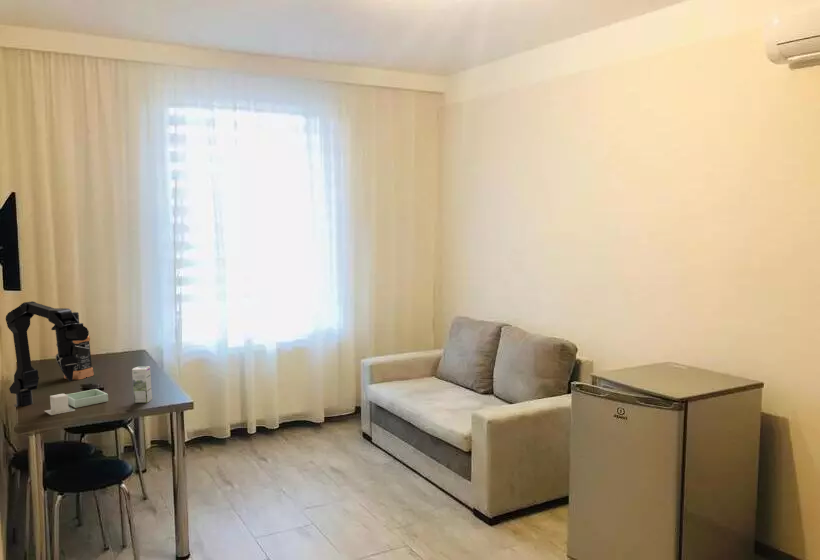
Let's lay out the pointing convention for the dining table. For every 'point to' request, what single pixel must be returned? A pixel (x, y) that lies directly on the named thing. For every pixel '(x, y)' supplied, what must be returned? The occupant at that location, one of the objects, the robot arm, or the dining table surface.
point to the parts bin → (87, 398)
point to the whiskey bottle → (82, 359)
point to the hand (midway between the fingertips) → (69, 379)
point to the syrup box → (142, 384)
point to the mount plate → (59, 412)
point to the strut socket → (59, 403)
